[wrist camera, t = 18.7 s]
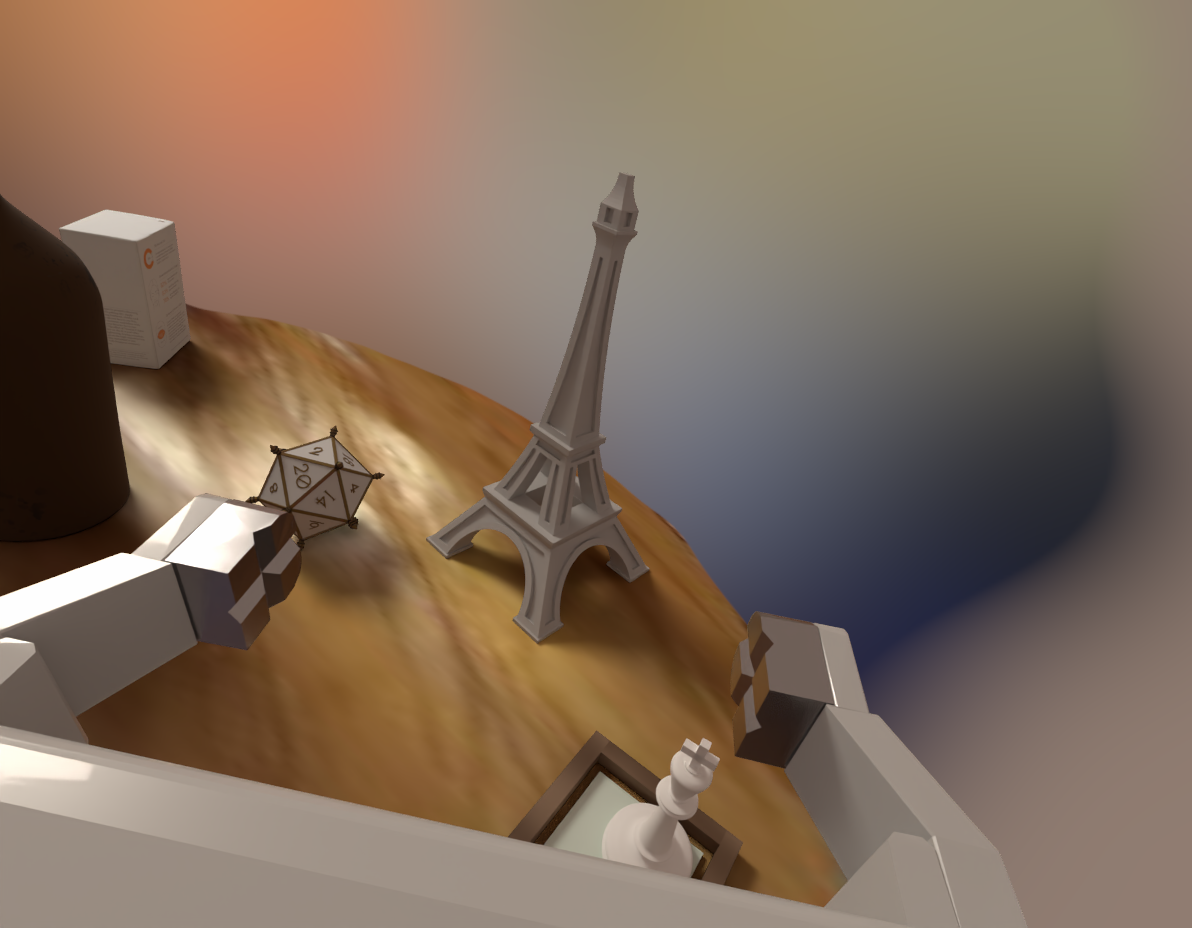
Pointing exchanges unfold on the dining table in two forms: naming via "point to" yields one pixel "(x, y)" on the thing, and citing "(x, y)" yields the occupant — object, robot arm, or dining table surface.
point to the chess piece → (663, 816)
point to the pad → (595, 819)
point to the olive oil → (53, 390)
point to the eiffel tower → (564, 452)
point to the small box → (134, 284)
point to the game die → (316, 486)
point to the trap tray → (642, 784)
